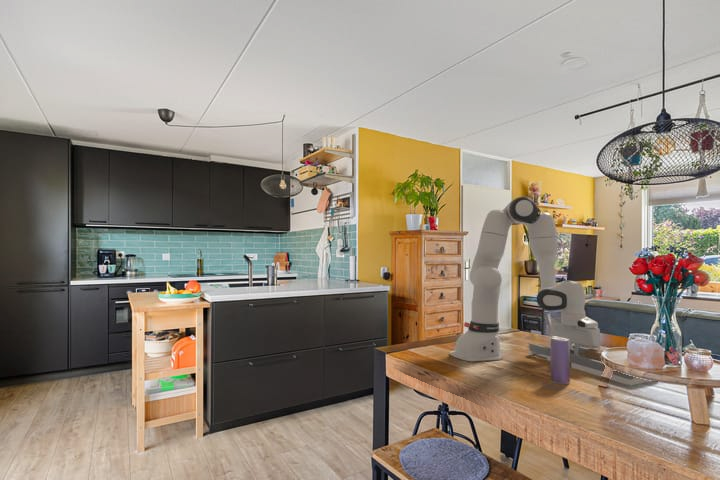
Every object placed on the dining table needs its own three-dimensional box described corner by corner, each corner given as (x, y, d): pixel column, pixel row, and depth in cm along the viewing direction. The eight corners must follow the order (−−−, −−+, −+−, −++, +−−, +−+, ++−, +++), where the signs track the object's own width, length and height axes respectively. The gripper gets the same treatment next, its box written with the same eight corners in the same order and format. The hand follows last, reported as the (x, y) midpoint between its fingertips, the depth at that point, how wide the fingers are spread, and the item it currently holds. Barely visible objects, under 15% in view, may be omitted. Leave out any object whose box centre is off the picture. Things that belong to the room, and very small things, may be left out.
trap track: (630, 385, 130) (630, 367, 130) (529, 354, 168) (529, 341, 168) (658, 379, 137) (658, 362, 137) (554, 351, 175) (554, 338, 175)
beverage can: (562, 385, 129) (562, 340, 130) (546, 380, 134) (546, 337, 135) (573, 383, 132) (573, 339, 132) (557, 378, 137) (557, 335, 138)
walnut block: (599, 366, 145) (599, 353, 145) (584, 362, 150) (584, 349, 151) (609, 364, 147) (609, 351, 148) (594, 360, 153) (594, 348, 153)
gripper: (546, 316, 167) (546, 348, 166) (591, 324, 148) (592, 361, 148) (556, 315, 169) (556, 347, 169) (602, 323, 151) (602, 359, 150)
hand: (573, 353), depth 158 cm, fingers closed
